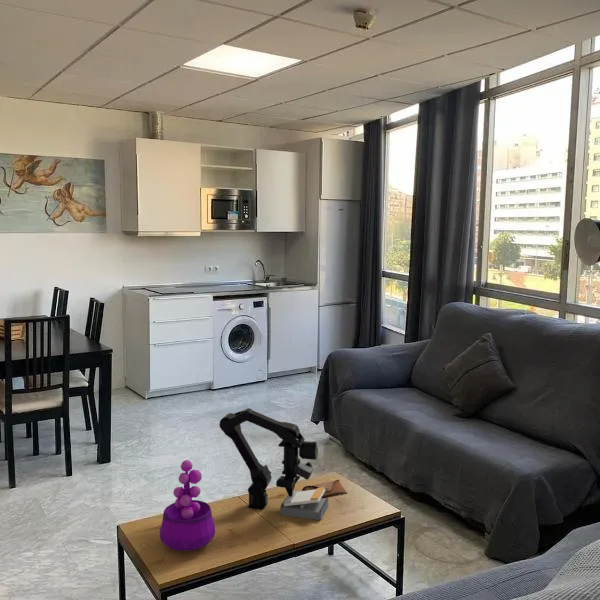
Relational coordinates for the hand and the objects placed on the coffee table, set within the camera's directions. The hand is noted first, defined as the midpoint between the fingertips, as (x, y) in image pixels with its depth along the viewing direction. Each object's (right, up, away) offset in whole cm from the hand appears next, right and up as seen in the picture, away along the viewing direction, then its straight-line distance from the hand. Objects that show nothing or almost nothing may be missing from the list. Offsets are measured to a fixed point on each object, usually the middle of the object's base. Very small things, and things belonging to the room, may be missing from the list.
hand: (290, 496), depth 236 cm
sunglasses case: (+14, -4, +15) cm, 21 cm away
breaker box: (+5, -5, -1) cm, 8 cm away
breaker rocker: (+6, 0, -2) cm, 6 cm away
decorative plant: (-35, -8, -27) cm, 45 cm away
